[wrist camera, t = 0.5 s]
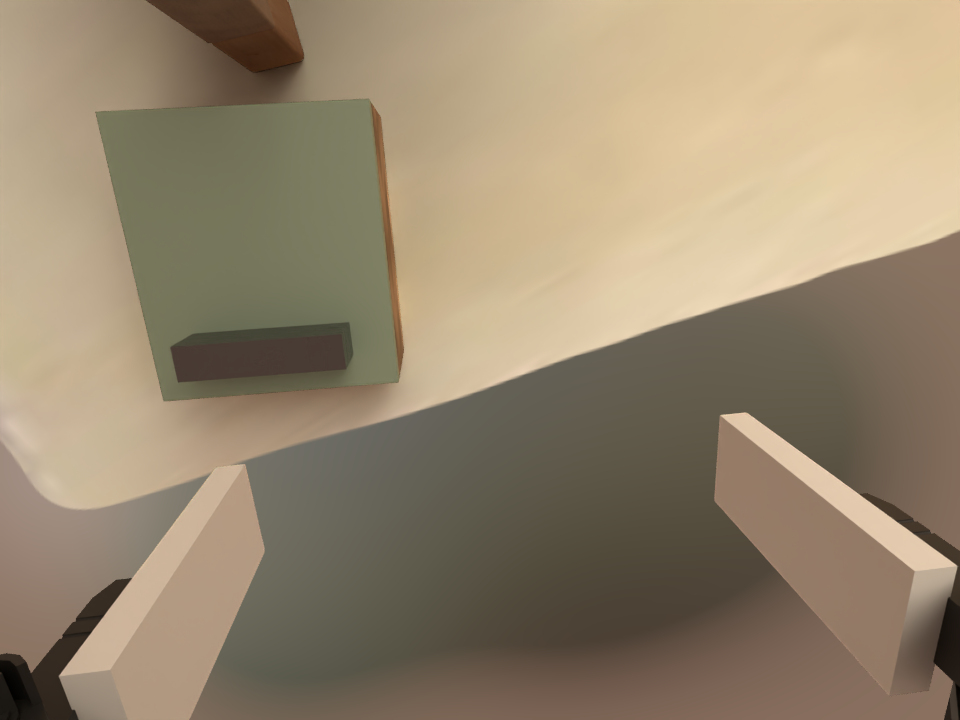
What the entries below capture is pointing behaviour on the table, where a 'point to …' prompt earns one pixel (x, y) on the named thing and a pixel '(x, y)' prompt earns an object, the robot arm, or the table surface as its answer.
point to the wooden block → (241, 29)
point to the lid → (256, 245)
